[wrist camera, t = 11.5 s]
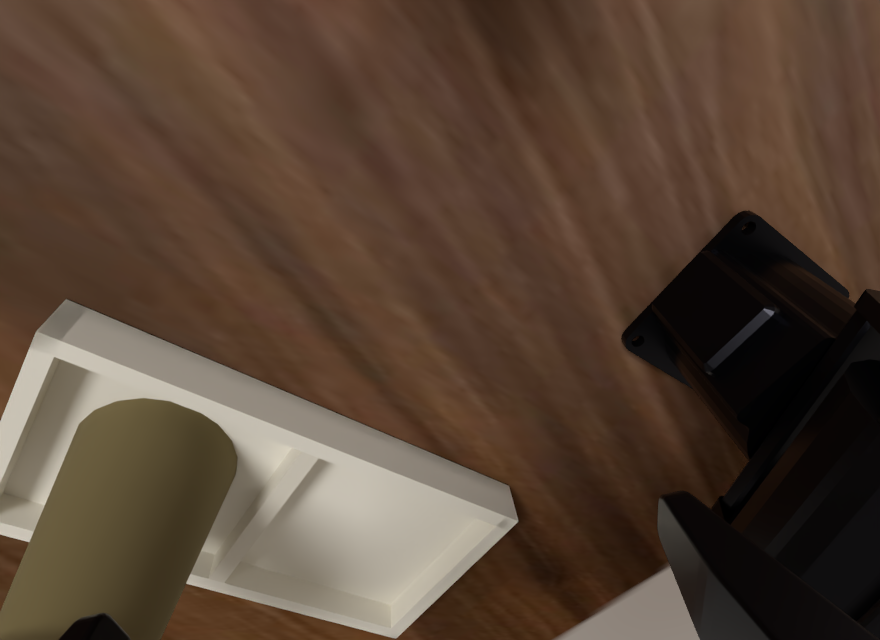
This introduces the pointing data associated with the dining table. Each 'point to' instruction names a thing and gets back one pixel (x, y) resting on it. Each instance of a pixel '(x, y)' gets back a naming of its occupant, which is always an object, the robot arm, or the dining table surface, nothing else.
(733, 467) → the dining table surface
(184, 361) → the tray
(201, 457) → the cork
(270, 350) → the dining table surface
